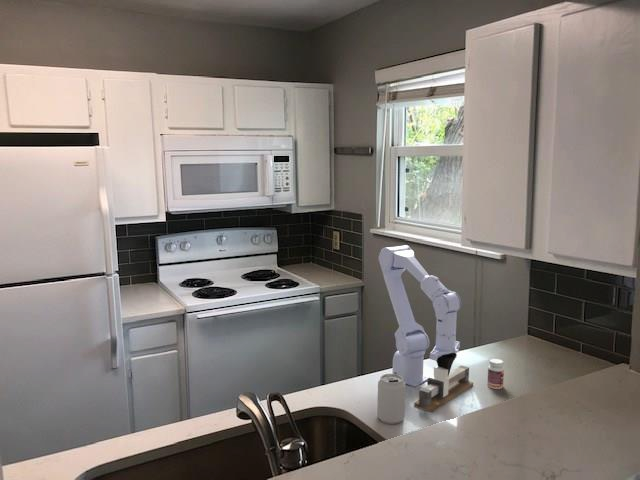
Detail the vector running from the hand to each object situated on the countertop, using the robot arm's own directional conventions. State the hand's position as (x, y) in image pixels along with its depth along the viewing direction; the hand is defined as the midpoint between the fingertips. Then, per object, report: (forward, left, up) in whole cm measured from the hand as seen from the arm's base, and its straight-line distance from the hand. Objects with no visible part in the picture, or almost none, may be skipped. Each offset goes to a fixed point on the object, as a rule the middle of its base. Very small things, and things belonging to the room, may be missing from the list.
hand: (444, 376), depth 159 cm
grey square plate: (0, -5, -4) cm, 7 cm away
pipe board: (0, +1, -6) cm, 6 cm away
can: (-4, -23, -6) cm, 24 cm away
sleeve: (0, -3, -4) cm, 5 cm away
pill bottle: (+8, +17, -6) cm, 20 cm away
